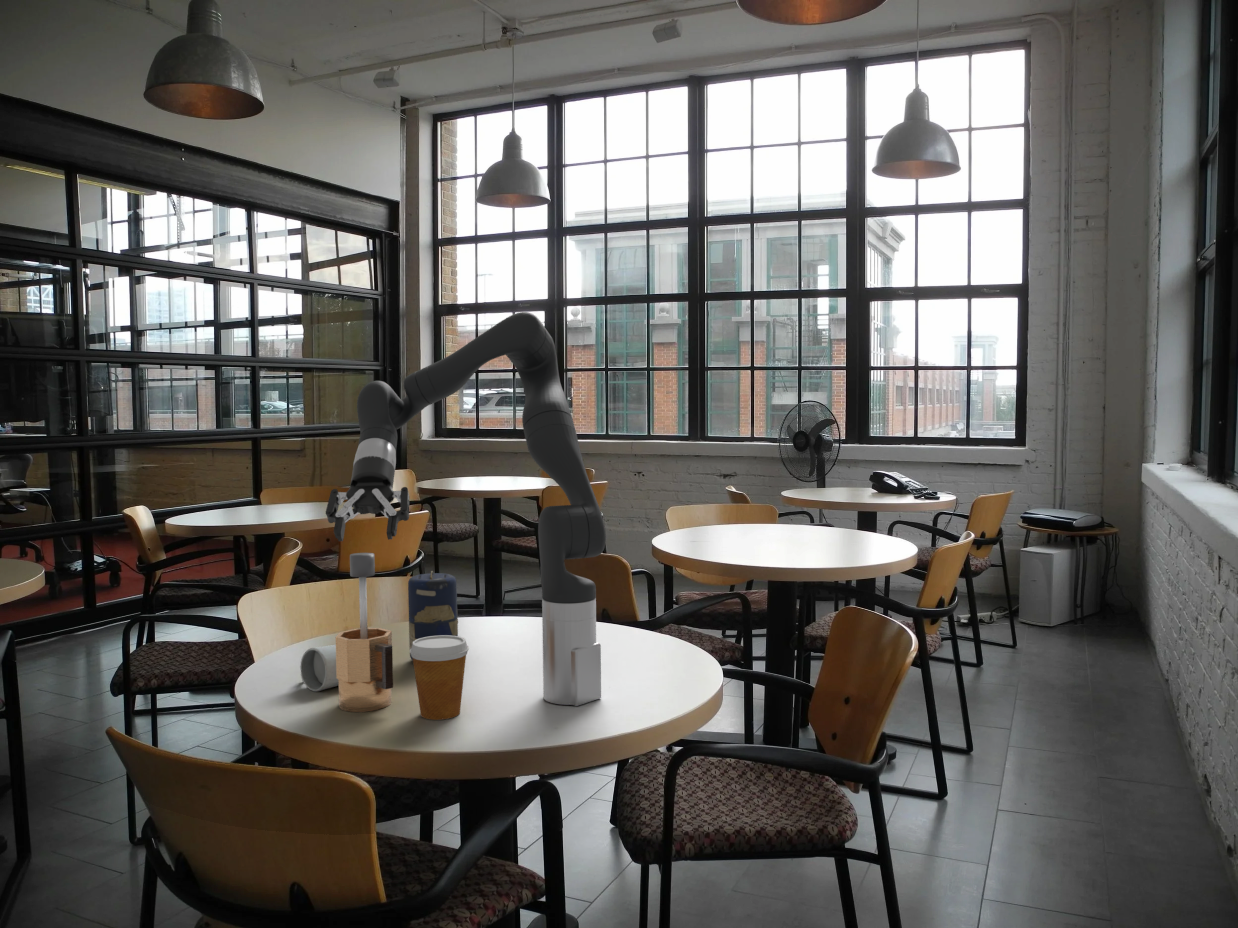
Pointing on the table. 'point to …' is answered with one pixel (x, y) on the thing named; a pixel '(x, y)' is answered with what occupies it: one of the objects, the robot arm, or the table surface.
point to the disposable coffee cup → (439, 674)
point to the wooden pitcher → (364, 669)
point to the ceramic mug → (319, 668)
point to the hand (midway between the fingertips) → (364, 537)
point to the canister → (432, 606)
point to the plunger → (362, 583)
